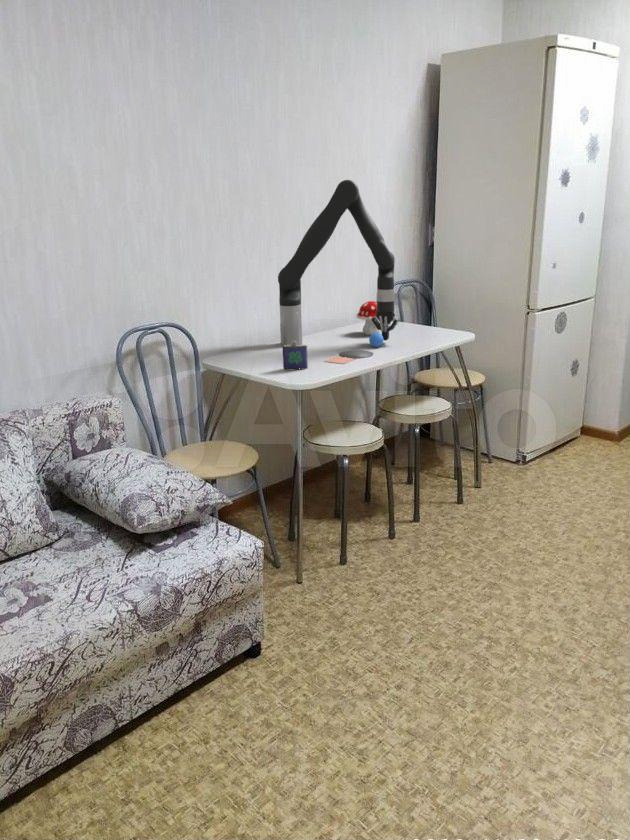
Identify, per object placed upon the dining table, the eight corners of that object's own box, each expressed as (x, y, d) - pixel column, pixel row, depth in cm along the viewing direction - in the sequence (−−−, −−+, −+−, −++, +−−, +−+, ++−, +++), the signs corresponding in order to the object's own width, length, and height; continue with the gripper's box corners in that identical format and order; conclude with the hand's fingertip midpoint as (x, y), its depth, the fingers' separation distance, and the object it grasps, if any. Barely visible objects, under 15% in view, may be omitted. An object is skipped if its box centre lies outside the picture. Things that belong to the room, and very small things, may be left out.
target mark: (339, 358, 281) (339, 358, 281) (338, 351, 294) (338, 350, 294) (374, 357, 281) (374, 357, 281) (372, 350, 294) (372, 349, 294)
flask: (307, 367, 269) (306, 339, 266) (308, 369, 267) (307, 341, 263) (283, 368, 269) (281, 340, 265) (283, 370, 266) (282, 342, 263)
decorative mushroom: (387, 331, 332) (387, 298, 327) (385, 337, 319) (385, 303, 314) (357, 331, 334) (357, 299, 329) (354, 337, 321) (354, 303, 316)
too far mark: (336, 356, 284) (336, 356, 284) (355, 359, 279) (355, 358, 279) (324, 361, 277) (324, 361, 277) (343, 364, 272) (343, 363, 272)
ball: (369, 348, 297) (369, 334, 295) (368, 345, 303) (368, 331, 301) (384, 348, 297) (384, 334, 295) (382, 345, 303) (382, 331, 301)
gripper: (403, 299, 300) (403, 339, 305) (376, 297, 307) (376, 337, 313) (395, 301, 294) (394, 343, 300) (367, 299, 301) (367, 340, 307)
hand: (385, 340), depth 306 cm, fingers closed
